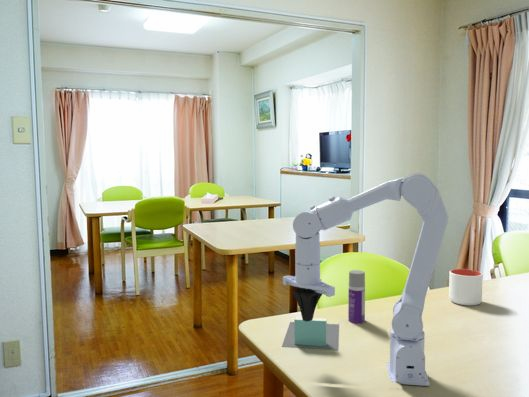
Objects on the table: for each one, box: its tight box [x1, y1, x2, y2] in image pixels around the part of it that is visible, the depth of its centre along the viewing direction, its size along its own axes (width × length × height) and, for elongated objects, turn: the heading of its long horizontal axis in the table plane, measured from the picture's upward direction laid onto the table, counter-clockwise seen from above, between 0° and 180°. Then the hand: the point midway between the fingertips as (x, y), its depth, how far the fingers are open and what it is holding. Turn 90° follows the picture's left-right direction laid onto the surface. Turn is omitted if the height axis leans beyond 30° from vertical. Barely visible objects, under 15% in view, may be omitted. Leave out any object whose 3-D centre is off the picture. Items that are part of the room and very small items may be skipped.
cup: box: [448, 268, 483, 307], centre depth 151 cm, size 10×10×10 cm
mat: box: [281, 321, 340, 351], centre depth 122 cm, size 18×14×1 cm
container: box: [347, 269, 366, 324], centre depth 132 cm, size 5×5×15 cm
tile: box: [293, 316, 328, 346], centre depth 116 cm, size 2×8×6 cm, turn 80°
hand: (307, 320), depth 106 cm, fingers closed
